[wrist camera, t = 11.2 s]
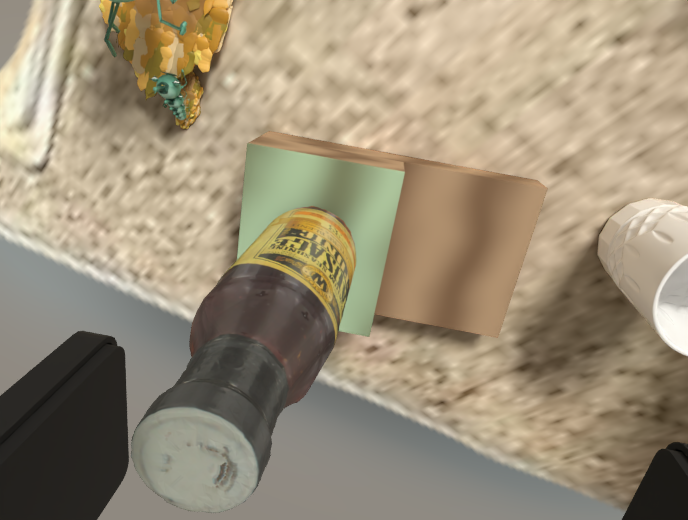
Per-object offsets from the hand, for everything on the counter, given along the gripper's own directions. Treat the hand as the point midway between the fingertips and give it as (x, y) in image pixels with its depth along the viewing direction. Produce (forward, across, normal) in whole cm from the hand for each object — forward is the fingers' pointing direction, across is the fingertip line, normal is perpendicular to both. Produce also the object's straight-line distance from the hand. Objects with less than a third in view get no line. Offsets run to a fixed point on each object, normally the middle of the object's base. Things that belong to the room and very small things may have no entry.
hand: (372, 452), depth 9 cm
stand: (+30, 0, +6) cm, 30 cm away
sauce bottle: (+24, +4, +6) cm, 25 cm away
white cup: (+30, -20, +3) cm, 36 cm away
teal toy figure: (+30, +17, -8) cm, 35 cm away
